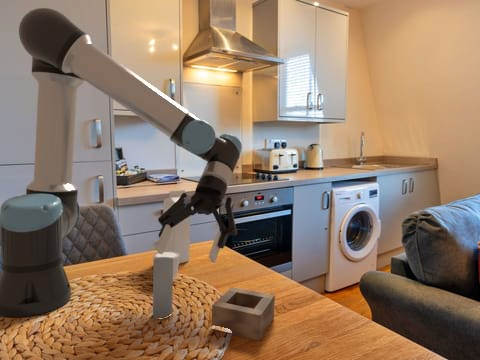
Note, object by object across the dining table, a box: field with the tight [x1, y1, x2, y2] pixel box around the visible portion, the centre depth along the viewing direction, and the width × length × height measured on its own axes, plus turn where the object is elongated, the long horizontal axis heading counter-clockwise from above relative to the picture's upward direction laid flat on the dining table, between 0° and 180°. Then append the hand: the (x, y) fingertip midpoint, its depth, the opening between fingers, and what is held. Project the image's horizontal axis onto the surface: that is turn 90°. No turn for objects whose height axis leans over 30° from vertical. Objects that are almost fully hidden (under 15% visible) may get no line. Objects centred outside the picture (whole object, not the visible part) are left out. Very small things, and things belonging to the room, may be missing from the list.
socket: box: [211, 287, 276, 342], centre depth 74 cm, size 10×10×5 cm
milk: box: [162, 189, 191, 264], centre depth 111 cm, size 6×6×22 cm
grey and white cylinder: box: [152, 251, 180, 278], centre depth 95 cm, size 7×7×7 cm
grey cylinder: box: [152, 257, 174, 319], centre depth 76 cm, size 4×4×12 cm
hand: (184, 255), depth 81 cm, fingers open, 13 cm apart
